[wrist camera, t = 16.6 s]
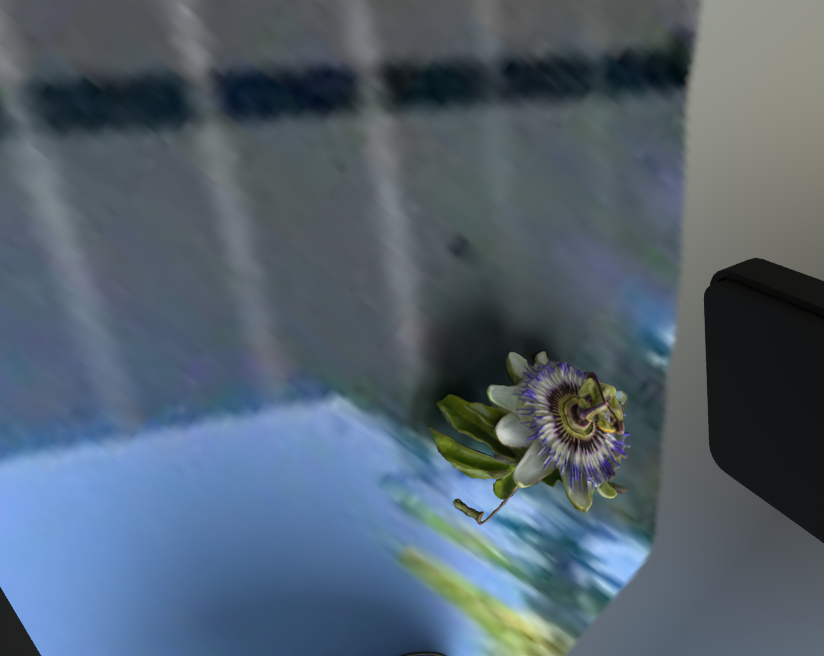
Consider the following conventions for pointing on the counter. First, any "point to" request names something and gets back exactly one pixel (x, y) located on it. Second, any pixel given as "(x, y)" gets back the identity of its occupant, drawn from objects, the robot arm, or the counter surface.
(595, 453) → the passion flower
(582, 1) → the counter surface
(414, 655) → the decorative vase
